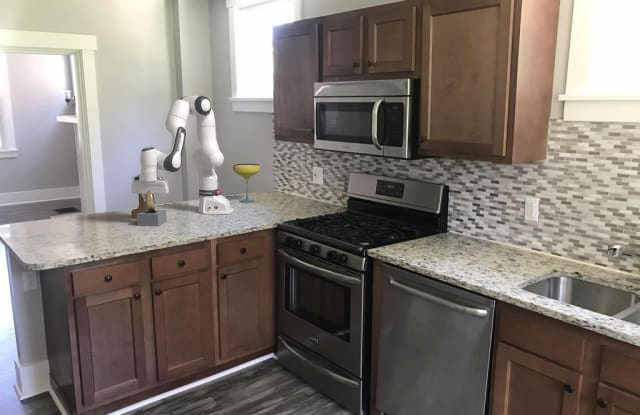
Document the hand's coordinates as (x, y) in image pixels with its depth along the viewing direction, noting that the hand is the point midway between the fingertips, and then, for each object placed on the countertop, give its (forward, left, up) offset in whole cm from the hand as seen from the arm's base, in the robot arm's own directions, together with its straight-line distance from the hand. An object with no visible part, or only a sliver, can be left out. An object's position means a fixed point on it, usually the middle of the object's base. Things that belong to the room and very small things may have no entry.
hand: (150, 201), depth 289 cm
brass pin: (0, 0, -6) cm, 6 cm away
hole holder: (0, 0, -12) cm, 12 cm away
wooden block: (+13, -14, -13) cm, 23 cm away
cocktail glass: (-38, -71, -13) cm, 82 cm away
